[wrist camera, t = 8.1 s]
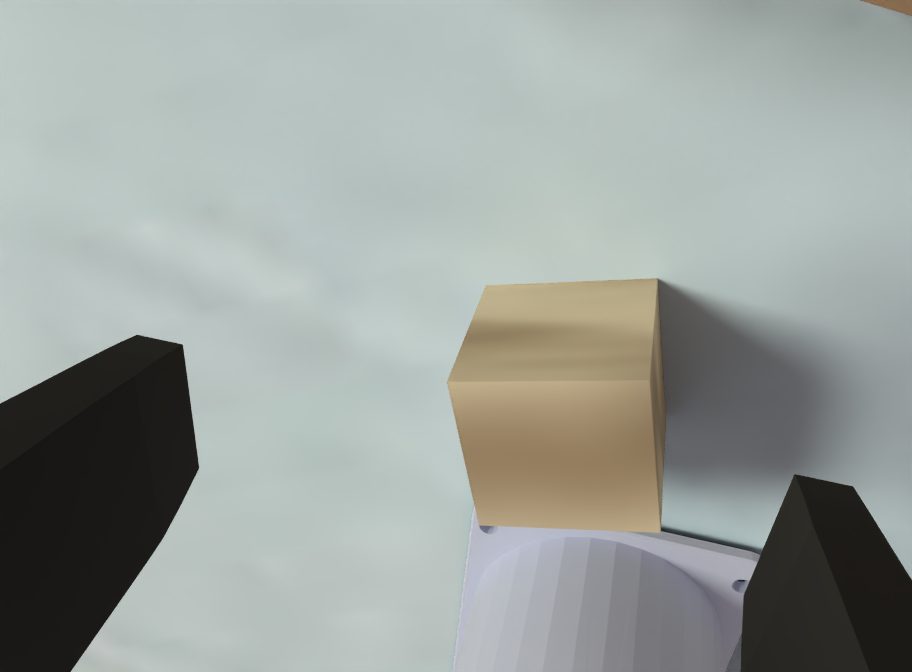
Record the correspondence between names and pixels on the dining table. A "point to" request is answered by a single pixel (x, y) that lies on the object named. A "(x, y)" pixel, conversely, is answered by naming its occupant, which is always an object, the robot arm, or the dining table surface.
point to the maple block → (564, 405)
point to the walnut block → (894, 5)
